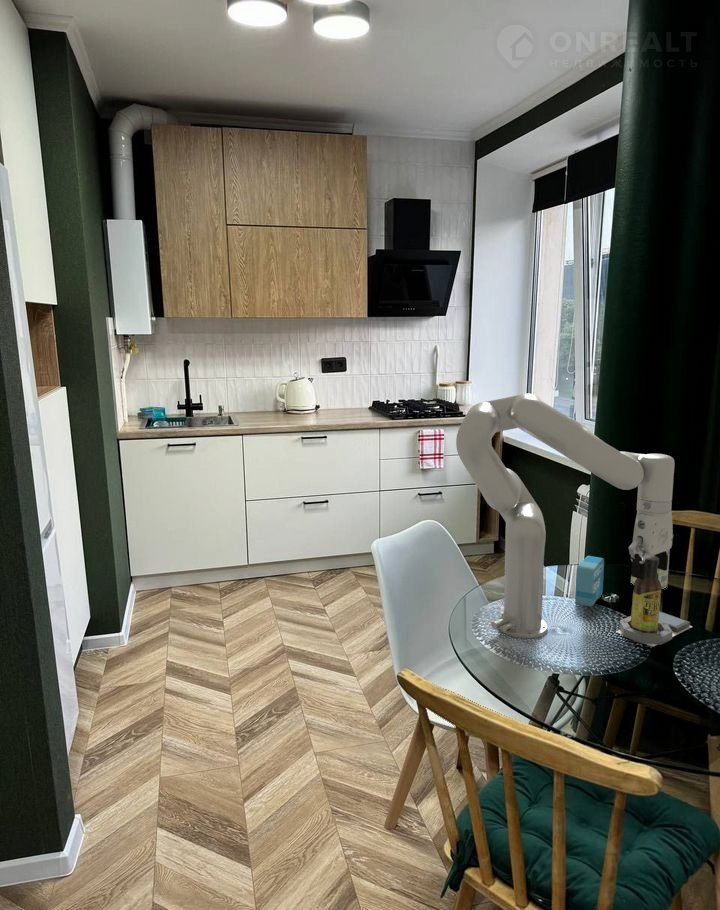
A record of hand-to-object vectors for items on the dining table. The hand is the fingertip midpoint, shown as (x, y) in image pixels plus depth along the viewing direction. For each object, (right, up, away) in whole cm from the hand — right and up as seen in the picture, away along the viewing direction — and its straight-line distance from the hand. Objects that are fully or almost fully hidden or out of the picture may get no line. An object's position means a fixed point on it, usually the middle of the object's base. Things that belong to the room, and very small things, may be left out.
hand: (649, 573), depth 158 cm
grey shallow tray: (+4, -16, +5) cm, 17 cm away
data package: (-6, -13, +25) cm, 29 cm away
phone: (+8, -14, +8) cm, 18 cm away
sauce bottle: (0, -16, +3) cm, 16 cm away
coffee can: (+16, -10, +37) cm, 42 cm away
